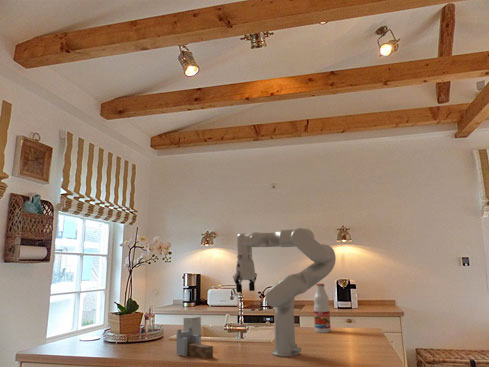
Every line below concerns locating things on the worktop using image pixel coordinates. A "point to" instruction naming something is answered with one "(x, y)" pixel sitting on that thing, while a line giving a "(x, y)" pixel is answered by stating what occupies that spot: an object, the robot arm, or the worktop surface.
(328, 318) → the fruit juice
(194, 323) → the skincare box
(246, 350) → the worktop surface
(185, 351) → the grey stepped block
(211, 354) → the wooden block
